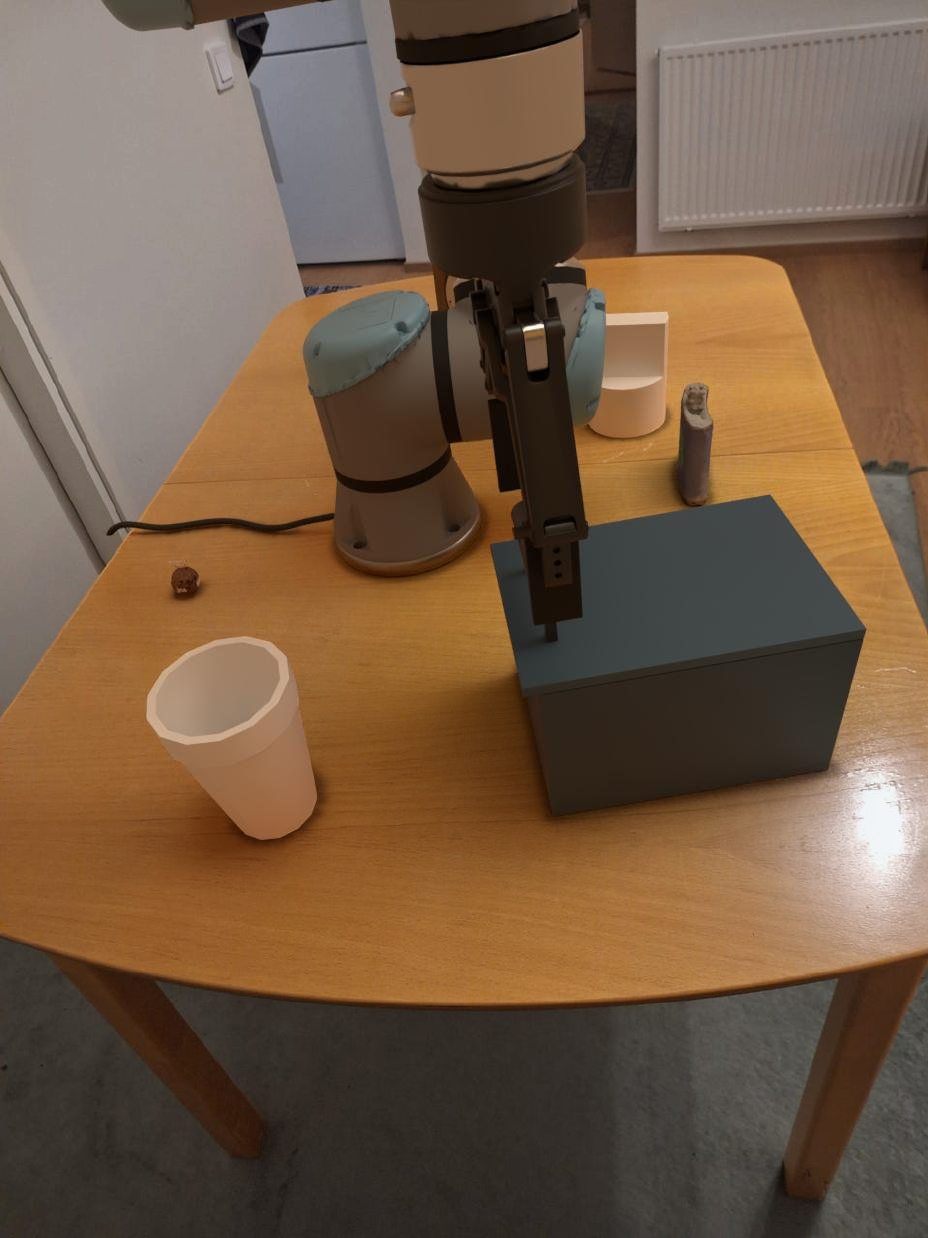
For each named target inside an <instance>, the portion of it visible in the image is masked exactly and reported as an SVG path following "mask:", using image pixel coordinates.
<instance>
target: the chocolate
mask: <svg viewBox="0 0 928 1238" xmlns="http://www.w3.org/2000/svg"><path fill="white" fill-rule="evenodd" d="M186 562H187V559H186V558H184V559H182V560H174V561H171V560H170V561H168V564H169V565H171V566H172V567H175V569H174V571H173V572H172V573H171V580H170V586H171V589H173V591H174V592H176V593H178V594H181V595H189V594H193V593H194V592H196V591H197V590H198V589H199V586H200V584H201V578H200V576H199V573H198V571H196V569H194V568H193V567H191V566H187V564H186Z"/></svg>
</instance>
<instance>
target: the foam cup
mask: <svg viewBox="0 0 928 1238" xmlns="http://www.w3.org/2000/svg"><path fill="white" fill-rule="evenodd" d="M297 683H298V682H297V679H296V676H295V674H294V672H293V670H292V666H291V664H290V662H289V660H288V657H287V655H285V654H284V653H283V652H282V650H280V649H279V648H278V647H277V646H276V645H275V644H274V643H273V642H272V641H268V640H264V639H259V638H256V637H252V636H248V635H244V636H236V637H235V636H234V637H228V638H227V637H226V638H219V639H215V640H212V641H210V642H208V643H205V644H203V645H200V646H198V647H196V648H193V649H192V650H189V651H187V652H185V653H184V654H183V655H182V656H180V657H179V658H177V660H175V661H174V662H172V663H171V664H170V665H169V666H168V667H166V668H165V669H164V670H162V672H161V673H160V675H159V676H158V678H157V680H156V681H155V683H154V684H153V686H152V688H151V689H150V691H149V692H148V694H147V696H146V698H147V699H146V715H145V717H146V720H147V722H148V724H149V726H150V728H151V729H152V731H153V732H154V734H155V735H156V737H157V738H158V741H159V742H160V743H161V744H162V746H163V748H164V749H165V750H166V751H167V753H168V754H169V755H170V756H171V758H172V759H173V760H174V761H176V762H179V763H180V764H182V766H183V767H184V768H185V769H186V771H188V773H190V775H191V776H192V777H193V778H194V779H195V780H196V782H197V783H198V784H199V785H200V786H201V787H202V788H203V789H204V790H205V791H206V792H207V794H208V795H209V796H210V797H211V798H212V799H213V800H214V801H215V803H216V804H217V805H218V806H219V807H220V809H222V811H223V812H224V813H225V814H226V815H227V816H228V817H229V819H231V821H232V822H233V823H234V824H235V825H236V826H237V827H238V829H240V830H241V831H242V832H243V833H244V835H245V836H249V837H252V838H254V839H257V840H260V841H263V840H274V839H280V838H282V837H284V836H287V835H288V834H290V833H292V832H295V831H296V830H299V828H301V826H302V825H303V824H304V823H305V822H306V821H307V820H308V819H309V818H310V817H311V816H312V815H313V812H314V809H315V806H316V804H317V801H318V794H317V788H316V787H317V786H316V781H315V780H316V779H315V776H314V771H313V767H312V762H311V761H312V760H311V757H310V753H309V748H308V743H307V742H308V741H307V739H306V734H305V729H304V725H303V720H302V716H301V715H302V714H301V711H300V706H299V705H300V698H299V690H298V684H297Z"/></svg>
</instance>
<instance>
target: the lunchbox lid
mask: <svg viewBox="0 0 928 1238" xmlns="http://www.w3.org/2000/svg"><path fill="white" fill-rule="evenodd" d="M510 517H511V521H512V525H513V527H514V526H520V525H522V522H524V521H525V518H526V517H525V512H524V506H523V500H522V499H521V500H520V501H518V502H516V503H515V504H514V505H513V507H512V508H511V511H510ZM588 526H589V531H588V537H587V539H585V540H579V555H580V574H581V593H582V612H583V617H582V618H577V619H571V620H565V621H560V622H554V623H548V624H542V625H537V626H534V623H533V619H532V612H531V603H530V593H529V584H528V575H527V566H526V557H525V547H524V538H523V539H518V540H514V538H513V539H509V540H503V541H497V542H492V543H489V548H490V553H491V558H492V562H493V567H494V570H495V576H496V581H497V585H498V590H499V595H500V599H501V603H502V608H503V612H504V618H505V622H506V627H507V631H508V634H509V635H508V636H509V641H510V645H511V649H512V650H511V651H512V654H513V658H514V659H513V660H514V662H515V663H514V664H515V667H516V672H517V676H518V677H517V678H518V682H519V685H520V691H521V694H522V698H526V697H529V696H535V695H540V694H546V693H552V692H558V691H563V690H569V689H575V688H581V687H586V686H592V685H598V684H604V683H609V682H615V681H621V680H627V679H632V678H638V677H644V676H650V675H655V674H661V673H667V672H673V671H678V670H684V669H690V668H696V667H701V666H707V665H713V664H719V663H724V662H730V661H736V660H742V659H747V658H753V657H759V656H765V655H770V654H776V653H782V652H788V651H793V650H799V649H805V648H811V647H816V646H822V645H828V644H834V643H839V642H845V641H851V640H857V639H862V638H863V639H865V636H866V633H867V627H866V626H865V625H864V623H863V622H862V620H861V619H860V617H859V616H858V615H857V613H856V612H855V610H854V609H853V608H852V606H851V605H850V603H849V602H848V601H847V599H846V598H845V596H844V595H843V594H842V592H841V591H840V589H839V588H838V587H837V585H836V584H835V582H834V581H833V579H832V578H831V577H830V576H829V574H828V573H827V571H826V569H824V567H823V566H822V564H821V563H820V562H819V560H818V559H817V557H816V556H815V555H814V553H813V552H812V550H811V549H810V548H809V546H808V545H807V543H806V542H805V541H804V539H803V537H802V536H801V535H800V534H799V532H798V531H797V530H796V527H794V525H793V524H792V522H791V521H790V520H789V518H788V517H787V516H786V514H785V513H784V511H783V510H782V508H781V507H780V506H779V504H778V502H777V501H776V500H775V499H774V497H773V496H772V495H771V494H770V493H769V494H764V495H758V496H753V497H747V498H746V497H745V498H740V499H735V500H730V501H724V502H718V503H713V504H707V505H701V506H694V507H690V508H685V509H678V510H673V511H672V510H671V511H668V512H661V513H656V514H650V515H643V516H639V517H634V518H628V519H623V520H616V521H611V522H604V523H600V524H594V525H588Z"/></svg>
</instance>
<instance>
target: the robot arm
mask: <svg viewBox="0 0 928 1238" xmlns="http://www.w3.org/2000/svg"><path fill="white" fill-rule="evenodd" d="M100 1H101V2H102V4H103V5H104V7H105V8H106V9H107V11H109V13H110V14H111V15H112V16H113V17H114V18H115V19H116V21H118V22H119V23H121V24H122V25H124V27H126V28H128V29H131V30H134V31H137V32H151V31H160V30H169V29H178V28H181V29H183V30H184V31H191V30H195V26H198V25H204V24H209V23H215V22H219V21H226V20H229V19H230V20H231V19H235V18H241V17H246V16H251V15H256V14H262V13H267V12H273V11H278V10H283V9H289V8H293V7H298V6H304V5H310V4H315V3H326V2H332V1H333V0H100ZM388 2H389V7H390V8H389V9H390V13H391V14H390V15H391V20H392V25H393V31H394V36H395V37H394V46H395V53H396V59H397V60H399V75H400V77H401V79H402V80H403V81H404V82H405V84H407V86H406V87H401V88H399V89H396V90H394V91H391V92H390V94H389V98H388V106H389V110H390V111H389V112H390V113H392V115H393V116H395V117H400V118H401V117H406V116H407V117H408V116H410V119H409V124H408V129H409V136H410V142H411V148H412V155H413V161H414V164H415V165H416V166H417V167H418V168H420V169H421V170H422V171H424V172H426V173H427V174H426V175H424V177H423V178H422V180H421V182H420V184H419V186H418V188H417V195H418V203H419V207H420V209H419V210H420V213H421V214H420V215H421V221H422V227H423V233H424V240H425V246H426V251H427V257H428V259H429V262H430V263H431V266H432V265H433V266H434V267H435V268H436V269H437V270H439V271H440V272H442V273H444V274H446V275H449V276H452V277H456V278H457V280H456V281H455V283H454V284H453V290H454V299H455V307H454V308H450V309H445V310H438V309H437V310H431V309H430V308H431V307H430V304H429V303H428V302H427V300H426V299H425V297H424V296H423V295H422V294H421V293H419V292H417V291H414V290H407V291H404V290H403V289H394V290H386V291H380V292H376V293H372V294H369V295H366V296H363V297H360V298H357V299H354V300H352V301H350V302H348V303H346V304H343V305H341V306H340V307H337V308H336V309H334V310H332V311H331V312H330V313H329V312H328V314H326V315H324V316H323V317H322V318H321V319H319V320H318V321H317V322H316V323H315V324H314V325H313V326H312V328H311V329H310V330H309V331H308V333H307V335H306V336H305V339H304V341H303V344H302V359H303V364H304V367H305V372H306V376H307V380H308V383H307V389H308V391H309V394H310V396H312V400H313V404H314V406H315V411H316V413H317V417H318V420H319V424H320V427H321V431H322V434H323V437H324V441H325V445H326V447H327V451H328V454H329V458H330V461H331V464H332V468H333V471H334V475H335V478H336V479H335V480H336V486H335V487H336V488H335V498H334V499H335V500H334V512H330V513H324V514H319V515H315V516H310V517H304V518H300V519H297V520H293V521H289V522H286V523H280V524H267V523H260V522H259V523H258V522H254V521H250V520H245V519H240V518H233V517H213V518H204V519H196V520H191V521H183V522H176V523H167V524H166V523H165V524H157V523H149V522H141V521H131V520H125V521H119V522H117V523H115V524H113V525H111V526H110V527H109V528H108V529H107V531H106V534H105V535H106V536H107V537H110V536H114V534H115V533H116V532H117V531H119V530H121V529H139V530H146V531H154V532H167V531H168V532H169V531H170V532H171V531H178V530H185V529H192V528H199V527H206V526H217V525H219V526H221V525H227V526H228V525H231V526H238V527H242V528H247V529H252V530H256V531H262V532H283V531H288V530H292V529H296V528H299V527H303V526H307V525H313V524H318V523H324V522H329V521H333V526H332V527H333V537H334V540H335V543H336V547H337V550H338V553H339V555H340V556H341V558H342V559H343V560H344V561H345V562H346V563H347V564H348V565H349V566H351V567H352V568H354V569H355V570H359V571H361V572H364V573H367V574H370V575H376V576H383V577H384V576H385V577H399V576H400V577H401V576H408V575H409V576H410V575H415V574H420V573H424V572H427V571H430V570H434V569H437V568H439V567H442V566H443V565H446V564H448V563H449V562H452V561H453V560H455V559H456V558H458V557H459V556H461V554H463V553H464V552H465V551H467V550H468V549H469V548H470V546H472V544H473V543H474V542H475V540H476V539H477V537H478V535H479V532H480V530H481V523H482V519H481V518H482V517H481V513H480V512H481V511H480V506H479V501H478V499H477V497H476V495H475V492H474V491H473V489H472V488H471V486H470V484H469V482H468V480H467V479H466V477H465V475H464V473H463V471H462V470H461V468H460V466H459V464H458V463H457V461H456V459H455V457H454V456H453V452H452V451H453V450H452V447H451V444H458V443H470V442H479V441H489V440H492V447H493V448H492V449H493V454H494V456H493V457H494V462H495V471H496V478H497V484H498V485H497V486H498V491H499V493H500V494H501V493H508V492H513V491H519V490H520V495H521V501H522V500H523V506H524V512H525V517H526V518H525V521H524V522H522V525H520V526H514V525H513V526H512V529H511V531H512V537H513V539H514V540H518V539H523V538H524V547H525V557H526V566H527V575H528V584H529V593H530V603H531V612H532V619H533V623H534V626H537V625H542V624H548V623H554V622H560V621H565V620H571V619H577V618H582V617H583V612H582V593H581V574H580V555H579V540H585V539H587V537H588V531H589V526H590V525H589V522H588V520H586V512H585V504H584V497H583V490H582V482H581V475H580V467H579V459H578V451H577V446H576V445H577V444H576V437H575V429H579V428H583V427H585V426H586V425H589V424H588V423H589V422H590V421H591V420H592V419H593V418H594V416H595V415H596V413H597V410H598V407H599V402H600V397H601V389H602V380H603V370H604V358H605V343H606V314H607V313H606V311H607V310H606V305H607V299H606V293H605V292H604V291H603V290H602V289H600V288H596V287H595V286H593V287H589V289H588V285H587V270H586V266H585V265H584V264H582V263H581V262H580V261H579V260H578V259H577V258H576V257H575V256H576V255H577V254H578V253H579V252H580V251H581V250H582V249H583V247H584V246H585V244H586V241H587V239H588V209H587V177H586V174H587V173H586V164H585V163H584V161H582V160H581V157H580V156H579V155H578V154H577V153H575V151H576V150H577V148H578V147H579V146H580V145H581V144H582V142H584V140H585V139H586V113H585V112H586V111H585V82H584V81H585V77H584V47H583V46H584V45H583V44H584V43H583V29H582V28H581V27H580V8H579V5H578V0H388Z"/></svg>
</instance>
